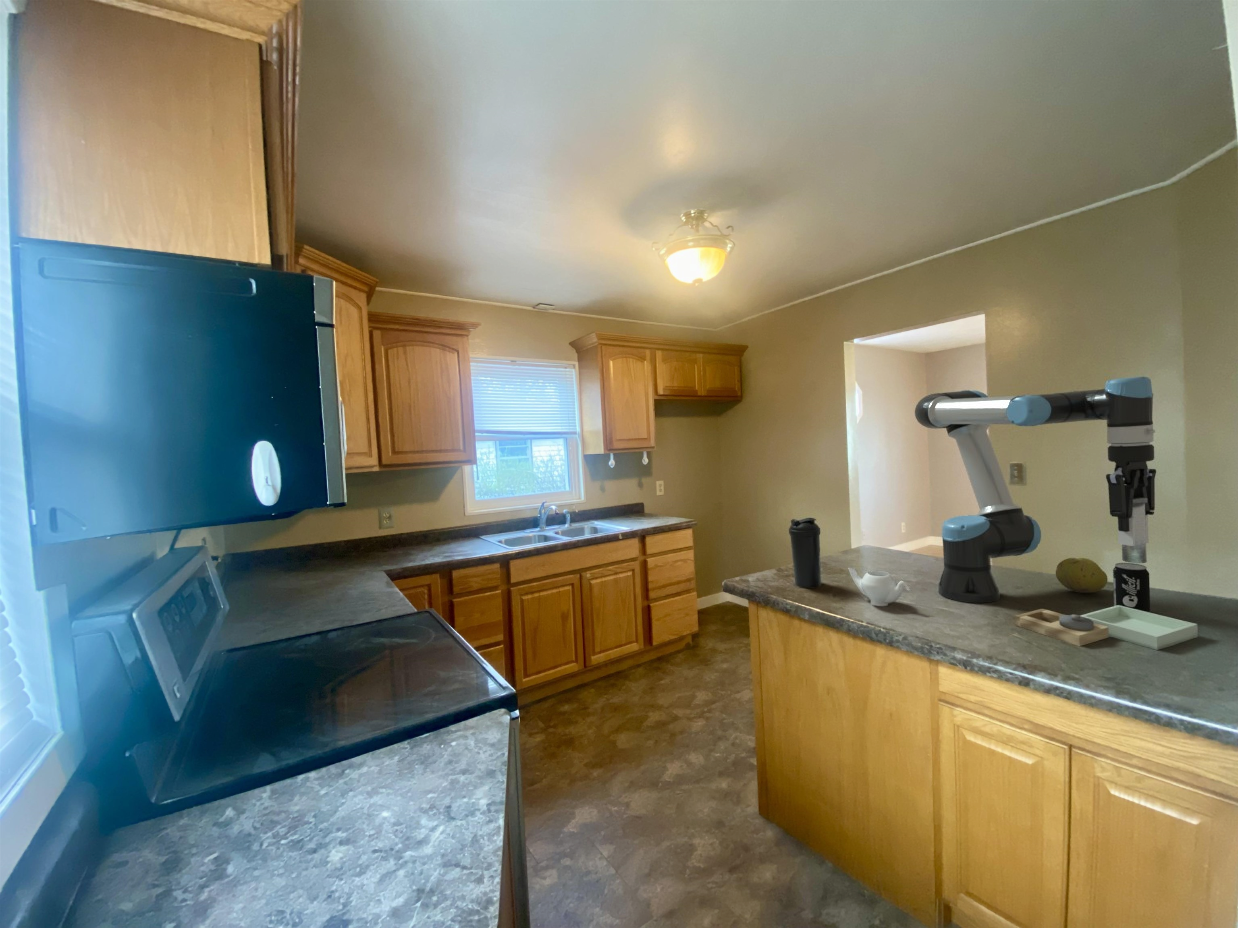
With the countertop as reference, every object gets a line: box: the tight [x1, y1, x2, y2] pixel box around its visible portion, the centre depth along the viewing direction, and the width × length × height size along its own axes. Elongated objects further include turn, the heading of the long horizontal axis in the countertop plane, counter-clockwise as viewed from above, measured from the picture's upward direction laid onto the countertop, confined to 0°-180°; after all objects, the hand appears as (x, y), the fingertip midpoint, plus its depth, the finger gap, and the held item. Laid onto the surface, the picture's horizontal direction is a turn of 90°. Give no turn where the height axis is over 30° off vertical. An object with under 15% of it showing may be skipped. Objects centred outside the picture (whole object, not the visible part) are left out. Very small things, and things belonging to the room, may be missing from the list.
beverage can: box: [1112, 562, 1151, 613], centre depth 129 cm, size 7×7×12 cm
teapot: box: [847, 566, 912, 607], centre depth 149 cm, size 10×20×9 cm, turn 28°
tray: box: [1079, 605, 1199, 651], centre depth 118 cm, size 14×14×3 cm
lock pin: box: [1121, 497, 1148, 564], centre depth 116 cm, size 5×5×15 cm
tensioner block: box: [1014, 608, 1110, 647], centre depth 122 cm, size 14×10×5 cm
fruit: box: [1055, 557, 1108, 594], centre depth 144 cm, size 11×12×10 cm
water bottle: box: [788, 517, 822, 589], centre depth 172 cm, size 10×10×23 cm
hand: (1133, 543), depth 117 cm, fingers closed on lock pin, 4 cm apart
